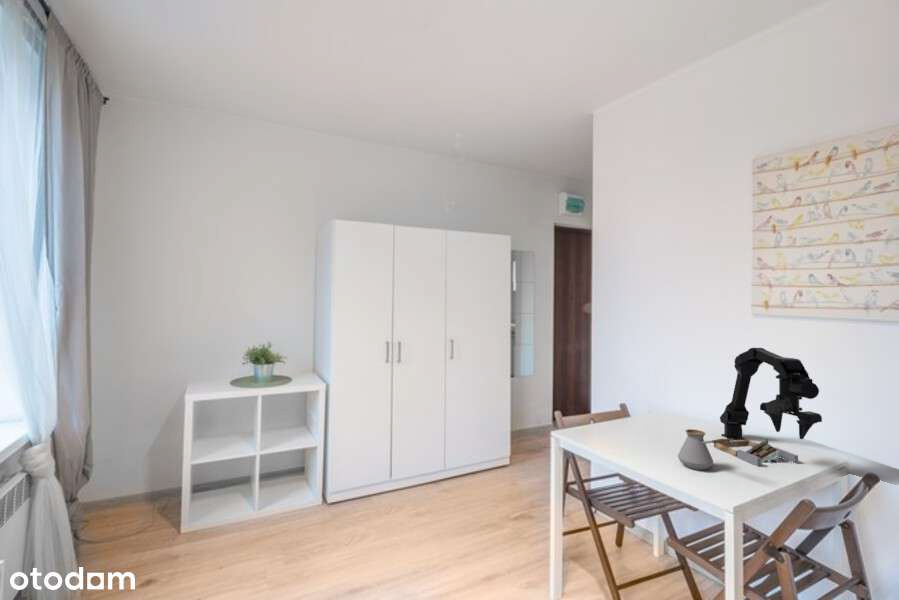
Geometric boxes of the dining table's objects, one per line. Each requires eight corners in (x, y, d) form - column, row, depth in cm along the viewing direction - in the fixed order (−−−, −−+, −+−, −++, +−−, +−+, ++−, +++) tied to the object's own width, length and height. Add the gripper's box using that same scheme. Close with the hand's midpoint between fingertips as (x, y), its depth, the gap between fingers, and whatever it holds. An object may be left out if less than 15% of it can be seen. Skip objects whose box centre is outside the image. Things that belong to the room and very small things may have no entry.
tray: (714, 447, 177) (714, 442, 177) (748, 444, 180) (748, 440, 180) (736, 456, 167) (736, 451, 167) (772, 454, 170) (772, 449, 170)
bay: (737, 457, 165) (737, 450, 165) (775, 454, 169) (775, 447, 169) (757, 466, 157) (757, 458, 157) (798, 463, 160) (798, 455, 160)
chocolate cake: (759, 466, 159) (782, 444, 159) (742, 454, 165) (764, 433, 165) (767, 478, 162) (790, 457, 162) (750, 466, 169) (772, 446, 169)
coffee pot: (670, 462, 161) (670, 423, 161) (693, 458, 164) (693, 420, 164) (722, 485, 140) (723, 441, 140) (747, 481, 144) (747, 437, 144)
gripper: (748, 388, 162) (748, 429, 162) (797, 399, 144) (797, 445, 144) (771, 387, 164) (772, 427, 164) (822, 398, 146) (823, 442, 146)
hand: (789, 435), depth 154 cm, fingers open, 8 cm apart
